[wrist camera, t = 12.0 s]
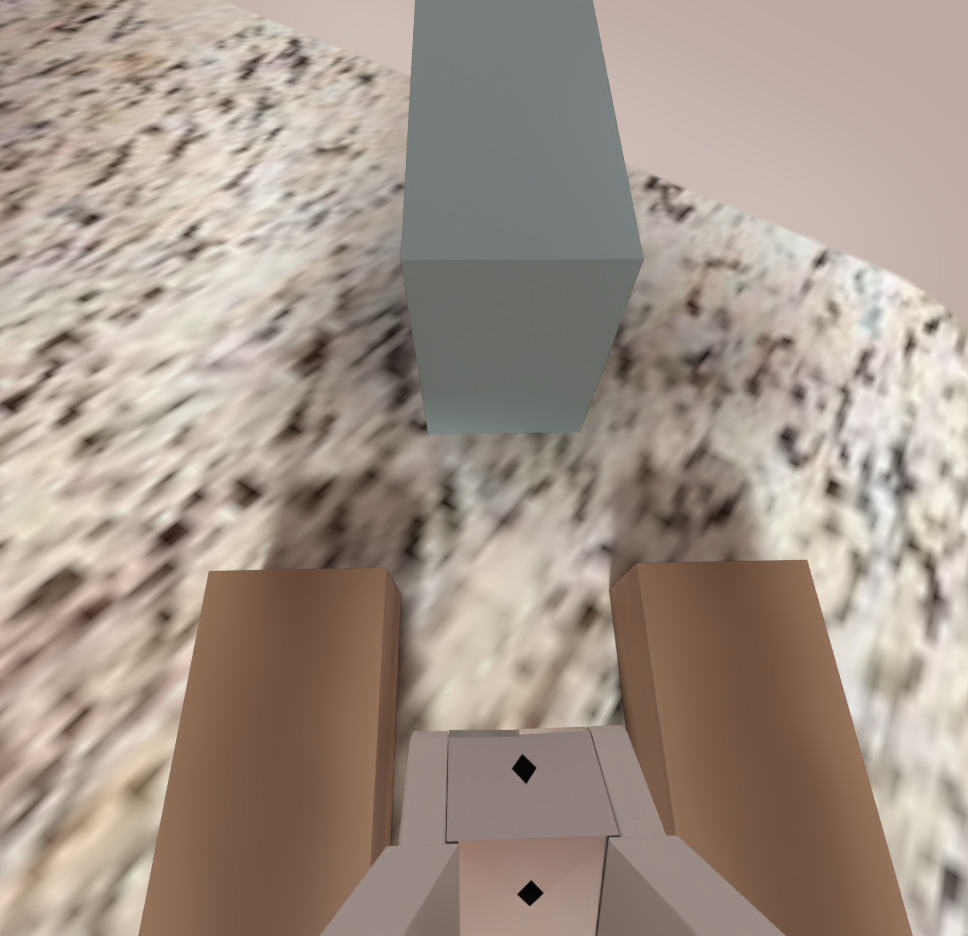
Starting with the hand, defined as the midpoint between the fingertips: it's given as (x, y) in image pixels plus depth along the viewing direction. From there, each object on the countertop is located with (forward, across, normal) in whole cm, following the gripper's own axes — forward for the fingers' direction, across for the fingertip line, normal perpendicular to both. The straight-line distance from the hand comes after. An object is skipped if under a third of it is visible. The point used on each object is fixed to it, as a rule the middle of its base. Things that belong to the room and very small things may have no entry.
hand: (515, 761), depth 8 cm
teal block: (+19, -1, -5) cm, 20 cm away
